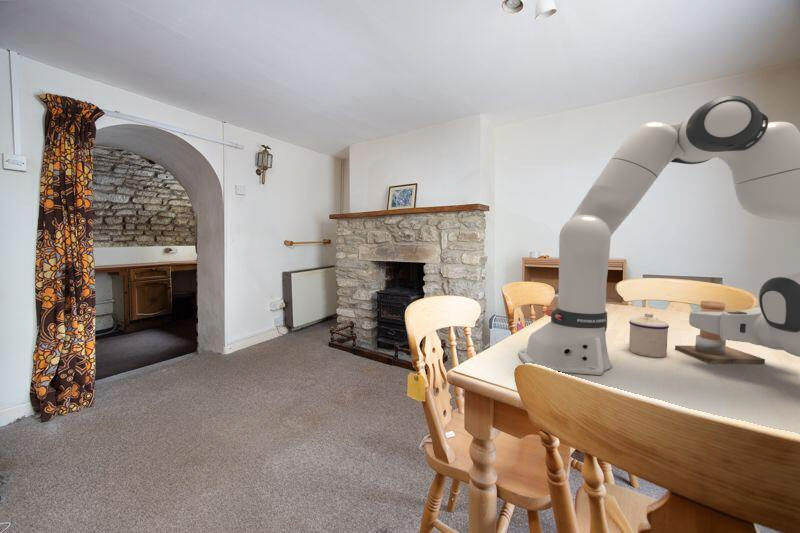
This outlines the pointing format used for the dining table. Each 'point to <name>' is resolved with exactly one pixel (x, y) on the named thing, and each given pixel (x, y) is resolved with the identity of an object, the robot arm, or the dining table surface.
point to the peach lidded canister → (711, 307)
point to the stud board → (722, 359)
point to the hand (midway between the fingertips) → (710, 314)
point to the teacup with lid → (648, 336)
